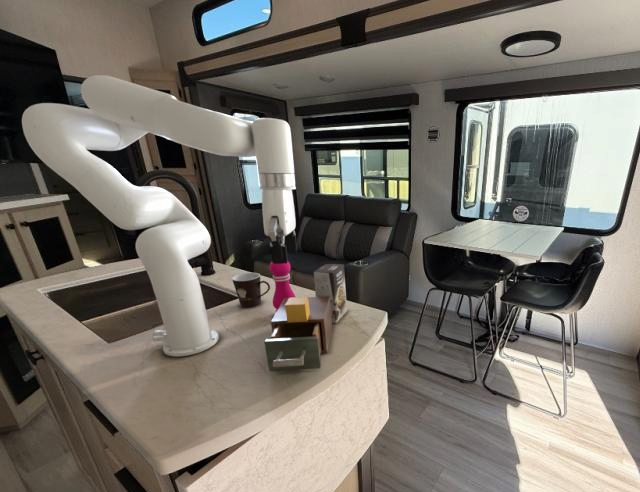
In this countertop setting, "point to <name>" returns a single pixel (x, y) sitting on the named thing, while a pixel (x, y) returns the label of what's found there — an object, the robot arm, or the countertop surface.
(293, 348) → the drawer
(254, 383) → the countertop surface
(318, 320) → the cabinet
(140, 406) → the countertop surface
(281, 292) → the pepper mill
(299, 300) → the block
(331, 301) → the coffee box
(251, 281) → the coffee mug
